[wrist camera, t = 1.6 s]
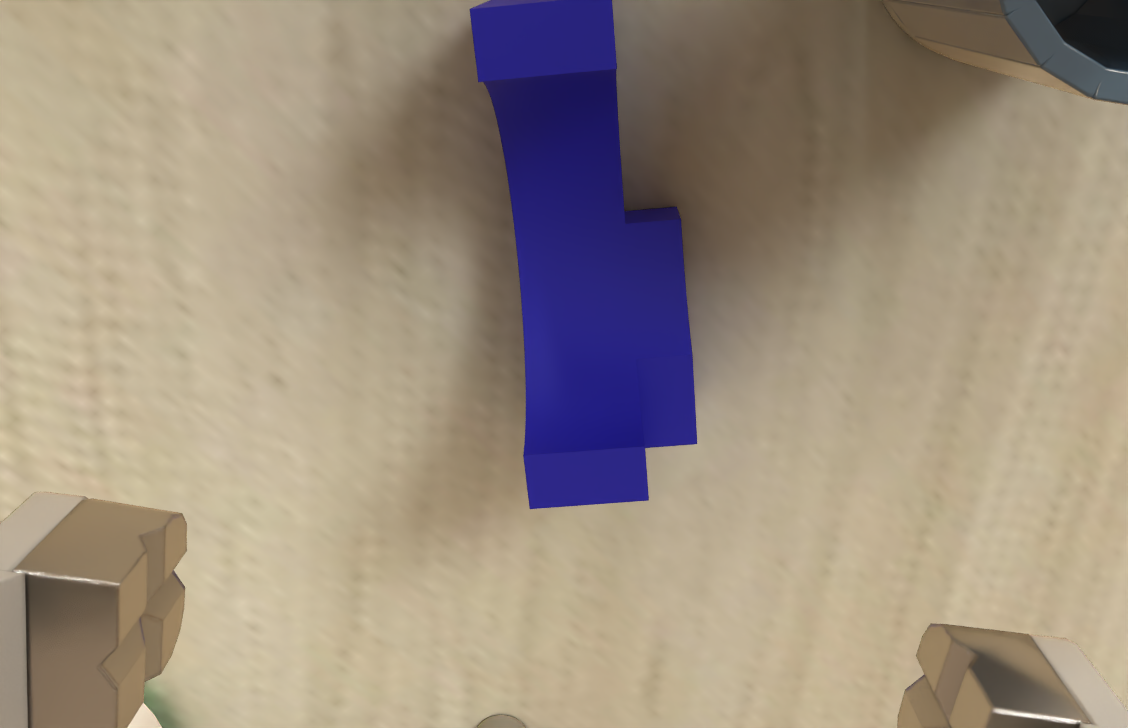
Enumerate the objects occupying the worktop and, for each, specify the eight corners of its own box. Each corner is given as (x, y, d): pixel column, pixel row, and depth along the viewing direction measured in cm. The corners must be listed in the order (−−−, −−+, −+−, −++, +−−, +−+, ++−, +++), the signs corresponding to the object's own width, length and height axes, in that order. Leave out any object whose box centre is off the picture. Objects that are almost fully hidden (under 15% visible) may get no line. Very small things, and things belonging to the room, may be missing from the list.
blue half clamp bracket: (687, 401, 32) (708, 496, 26) (540, 412, 32) (529, 509, 26) (663, -19, 27) (683, -13, 22) (493, -2, 28) (469, 9, 22)
